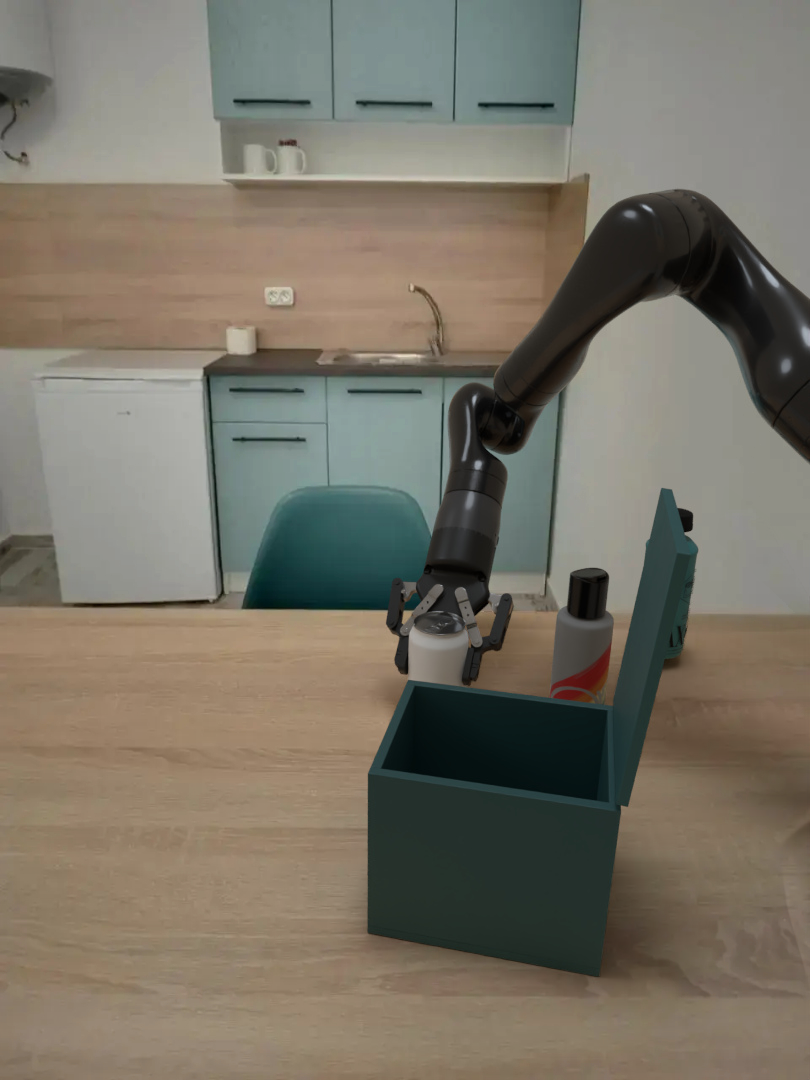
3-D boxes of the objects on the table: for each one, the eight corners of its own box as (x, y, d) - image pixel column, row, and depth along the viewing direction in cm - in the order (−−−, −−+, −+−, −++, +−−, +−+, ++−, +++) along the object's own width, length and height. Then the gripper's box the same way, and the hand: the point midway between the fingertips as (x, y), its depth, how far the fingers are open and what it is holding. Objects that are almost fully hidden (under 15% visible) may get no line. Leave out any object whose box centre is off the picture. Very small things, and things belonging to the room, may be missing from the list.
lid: (677, 552, 49) (691, 554, 49) (661, 487, 61) (672, 489, 61) (615, 804, 56) (628, 807, 55) (612, 700, 68) (622, 702, 68)
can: (475, 715, 93) (480, 619, 89) (445, 742, 88) (449, 642, 84) (427, 697, 97) (430, 604, 92) (395, 723, 92) (397, 625, 87)
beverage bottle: (628, 665, 105) (647, 515, 98) (632, 642, 111) (650, 499, 104) (682, 674, 103) (705, 522, 96) (683, 650, 109) (705, 505, 102)
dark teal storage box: (367, 933, 64) (367, 773, 59) (404, 819, 77) (407, 679, 71) (599, 977, 61) (621, 811, 56) (599, 850, 73) (617, 705, 68)
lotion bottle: (573, 765, 85) (592, 586, 78) (534, 739, 89) (548, 567, 82) (610, 746, 88) (632, 573, 81) (571, 722, 92) (588, 555, 85)
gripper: (398, 517, 94) (362, 657, 87) (524, 532, 90) (496, 679, 84) (410, 545, 101) (378, 677, 94) (528, 560, 97) (503, 699, 90)
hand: (434, 677), depth 89 cm, fingers closed on can, 6 cm apart
